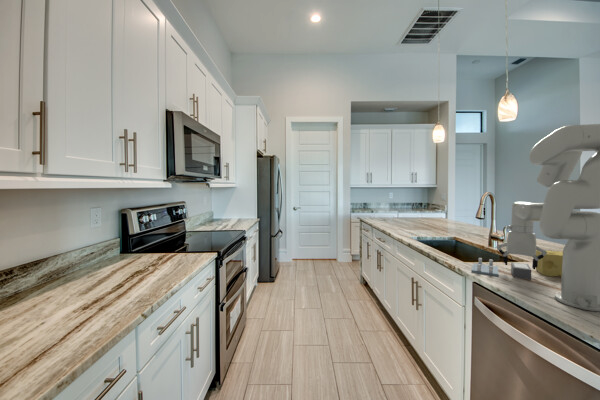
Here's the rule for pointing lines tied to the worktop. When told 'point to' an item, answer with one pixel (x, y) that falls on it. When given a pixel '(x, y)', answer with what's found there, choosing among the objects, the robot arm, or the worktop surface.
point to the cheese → (550, 263)
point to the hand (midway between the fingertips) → (519, 266)
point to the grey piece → (485, 268)
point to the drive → (520, 270)
